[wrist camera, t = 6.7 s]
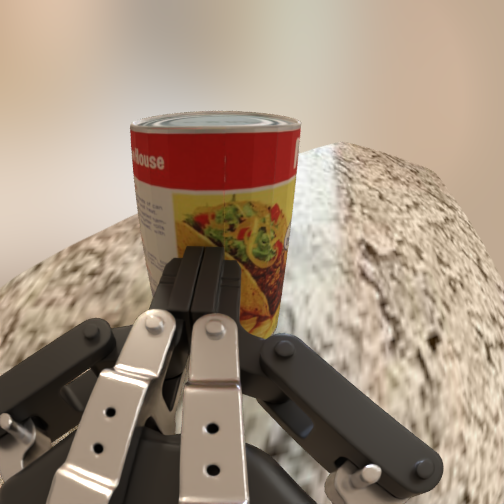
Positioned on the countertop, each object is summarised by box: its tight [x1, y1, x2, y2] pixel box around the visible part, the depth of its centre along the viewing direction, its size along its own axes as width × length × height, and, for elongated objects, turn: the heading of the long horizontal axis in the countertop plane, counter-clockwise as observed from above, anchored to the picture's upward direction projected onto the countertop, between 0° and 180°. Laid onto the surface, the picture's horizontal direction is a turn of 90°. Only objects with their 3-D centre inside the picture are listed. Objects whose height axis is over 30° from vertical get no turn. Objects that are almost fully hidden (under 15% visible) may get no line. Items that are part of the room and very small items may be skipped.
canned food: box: [130, 111, 301, 355], centre depth 15 cm, size 8×8×12 cm
